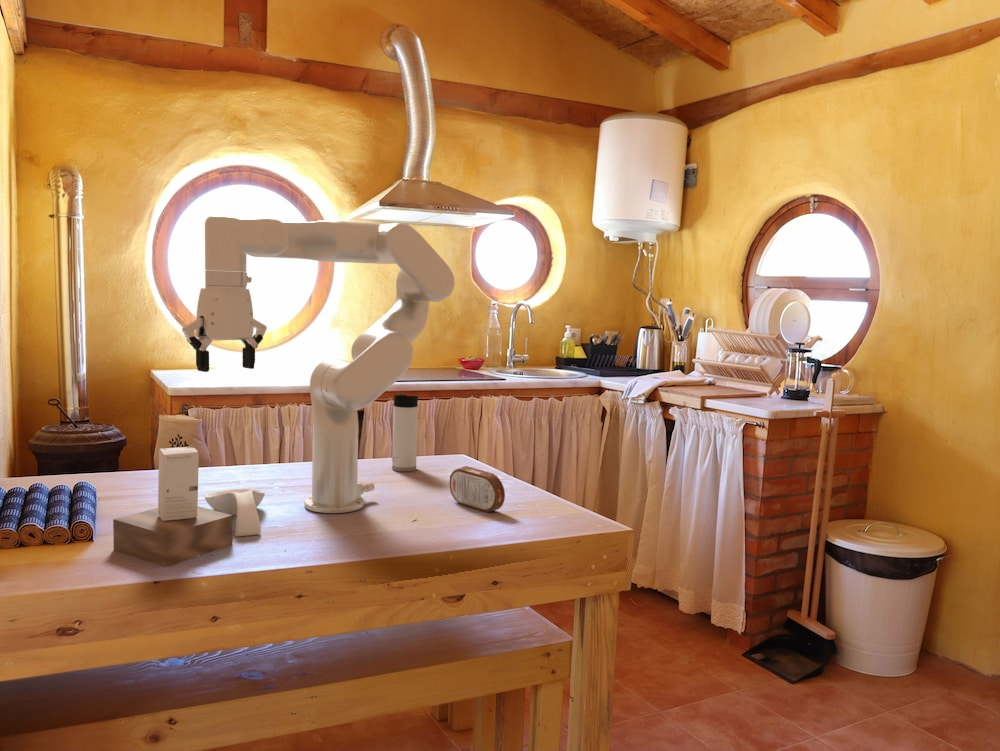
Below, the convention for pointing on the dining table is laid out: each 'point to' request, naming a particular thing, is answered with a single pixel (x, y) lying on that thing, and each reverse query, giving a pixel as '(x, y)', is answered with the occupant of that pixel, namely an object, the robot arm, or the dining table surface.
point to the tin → (477, 489)
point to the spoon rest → (239, 508)
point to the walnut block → (172, 535)
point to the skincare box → (178, 483)
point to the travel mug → (404, 433)
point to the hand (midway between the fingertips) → (226, 369)
